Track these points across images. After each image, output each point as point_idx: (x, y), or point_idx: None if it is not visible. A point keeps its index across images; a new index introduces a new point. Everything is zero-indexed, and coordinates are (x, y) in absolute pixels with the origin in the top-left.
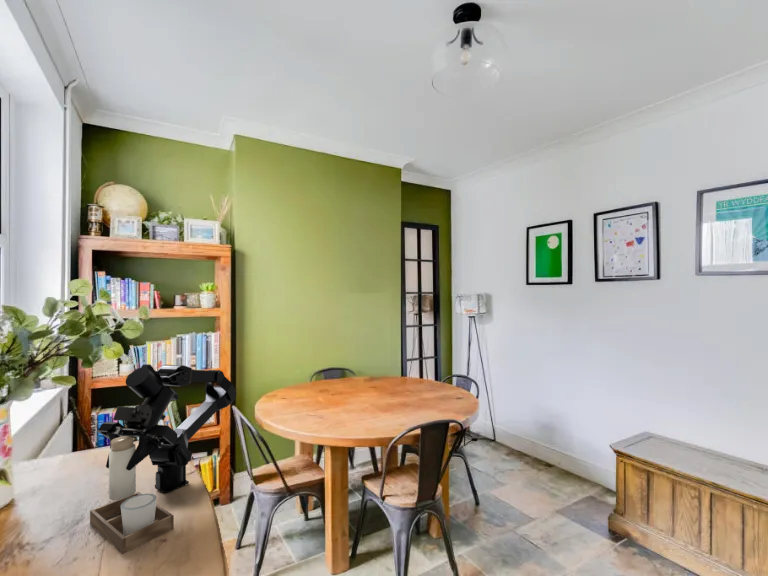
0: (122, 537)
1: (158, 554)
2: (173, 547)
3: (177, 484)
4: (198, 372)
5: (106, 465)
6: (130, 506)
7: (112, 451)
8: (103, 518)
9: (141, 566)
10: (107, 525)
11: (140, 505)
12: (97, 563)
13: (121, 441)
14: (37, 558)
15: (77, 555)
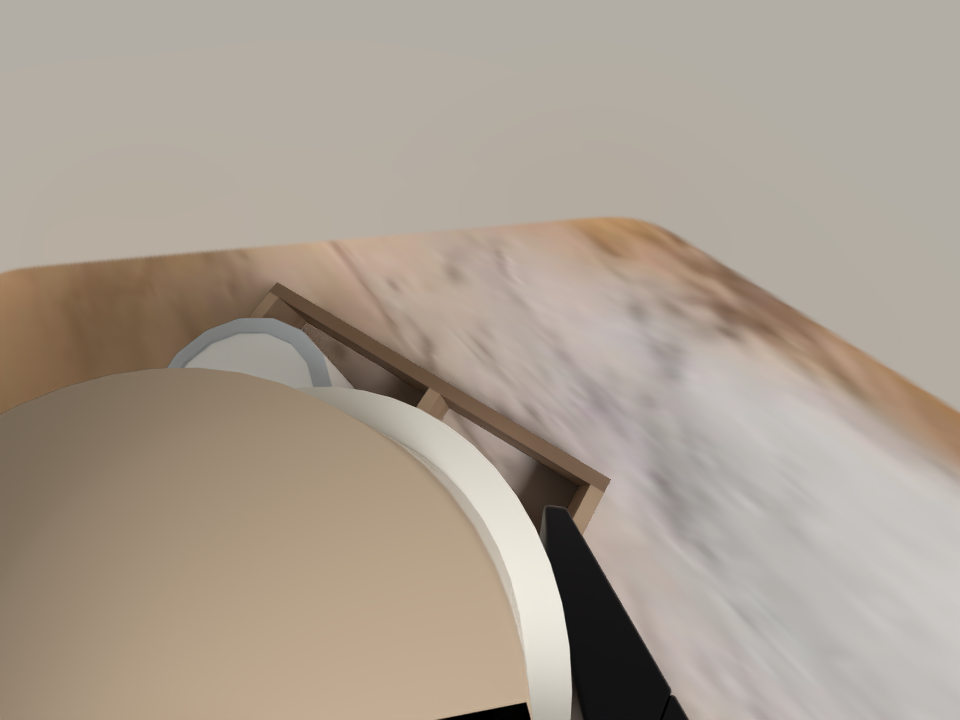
0: (283, 291)
1: (177, 317)
2: (139, 354)
3: None
4: None
5: (559, 510)
6: (258, 350)
7: (378, 423)
8: (471, 412)
9: (207, 263)
10: (408, 361)
11: (207, 365)
12: (360, 262)
13: (10, 522)
14: (593, 264)
15: (462, 289)
